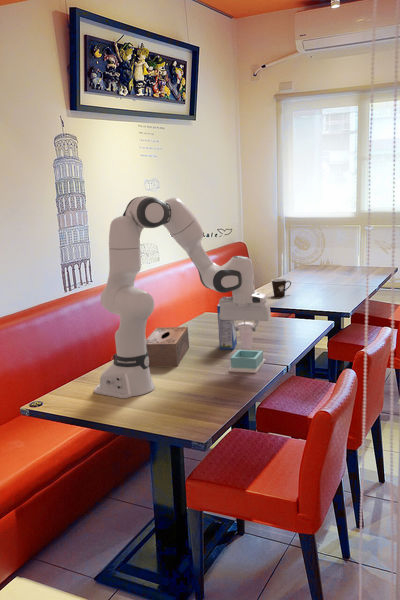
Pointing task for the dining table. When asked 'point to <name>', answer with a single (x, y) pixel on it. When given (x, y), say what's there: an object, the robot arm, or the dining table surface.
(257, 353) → the holder board
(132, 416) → the dining table surface
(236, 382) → the dining table surface
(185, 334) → the tissue box cover
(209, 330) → the dining table surface
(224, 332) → the milk carton
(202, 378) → the dining table surface
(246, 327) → the smoothie
